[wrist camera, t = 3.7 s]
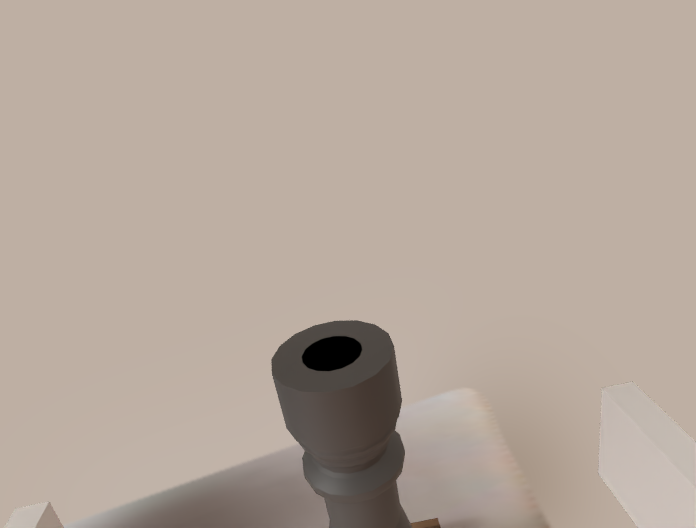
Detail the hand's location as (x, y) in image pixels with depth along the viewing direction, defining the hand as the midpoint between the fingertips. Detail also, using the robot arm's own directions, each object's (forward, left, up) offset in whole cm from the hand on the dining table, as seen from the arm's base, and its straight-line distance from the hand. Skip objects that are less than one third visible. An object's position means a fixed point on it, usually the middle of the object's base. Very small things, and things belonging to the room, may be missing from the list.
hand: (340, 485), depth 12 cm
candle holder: (0, +11, -28) cm, 30 cm away
